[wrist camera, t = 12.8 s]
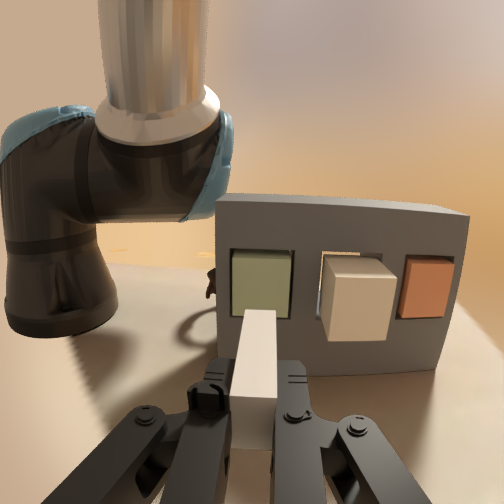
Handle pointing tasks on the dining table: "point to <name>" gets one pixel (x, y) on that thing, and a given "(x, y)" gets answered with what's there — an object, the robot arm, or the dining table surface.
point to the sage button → (261, 280)
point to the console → (309, 265)
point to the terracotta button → (425, 286)
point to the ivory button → (356, 298)
